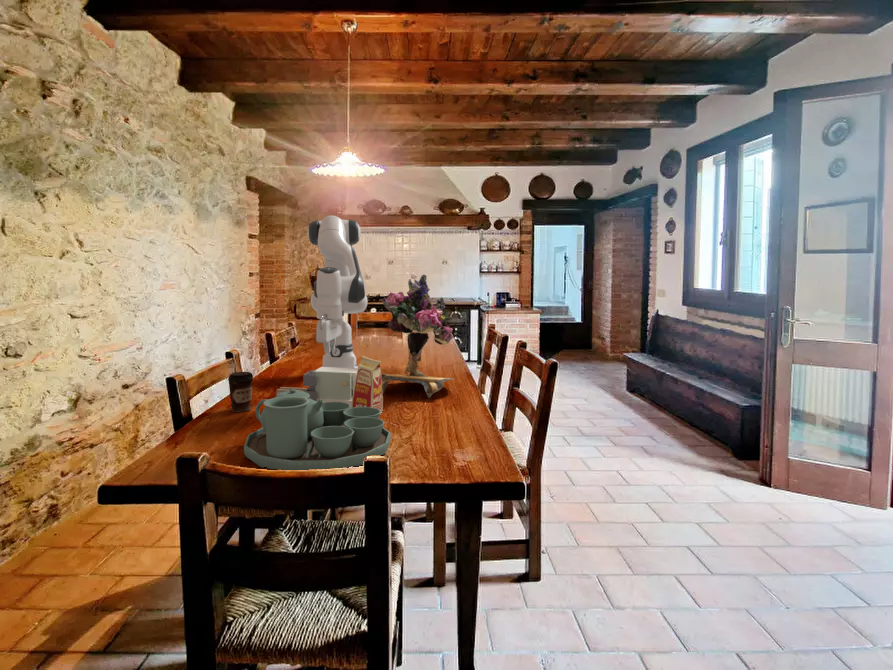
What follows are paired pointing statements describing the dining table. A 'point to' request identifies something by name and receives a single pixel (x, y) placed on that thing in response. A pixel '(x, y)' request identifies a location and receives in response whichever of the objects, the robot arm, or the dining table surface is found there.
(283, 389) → the door rack
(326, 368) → the cabinet
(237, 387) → the coffee cup
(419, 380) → the flower vase arrangement
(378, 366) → the milk carton
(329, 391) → the door
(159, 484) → the dining table surface
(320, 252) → the robot arm
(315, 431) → the tea set
